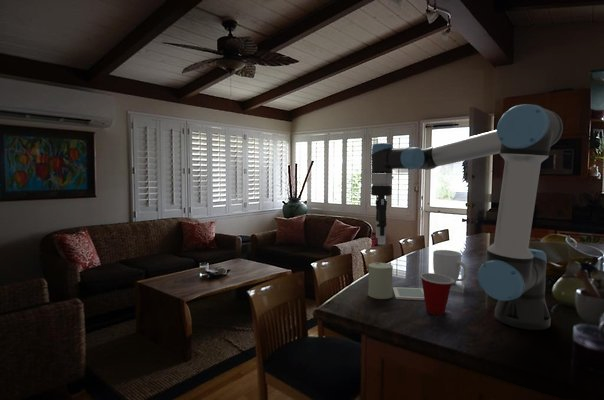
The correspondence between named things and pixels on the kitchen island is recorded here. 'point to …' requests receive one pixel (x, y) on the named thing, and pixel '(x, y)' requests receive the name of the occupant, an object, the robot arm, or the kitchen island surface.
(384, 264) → the can
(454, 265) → the mug
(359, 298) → the kitchen island surface
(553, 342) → the kitchen island surface
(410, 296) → the square picture frame
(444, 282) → the plastic cup
